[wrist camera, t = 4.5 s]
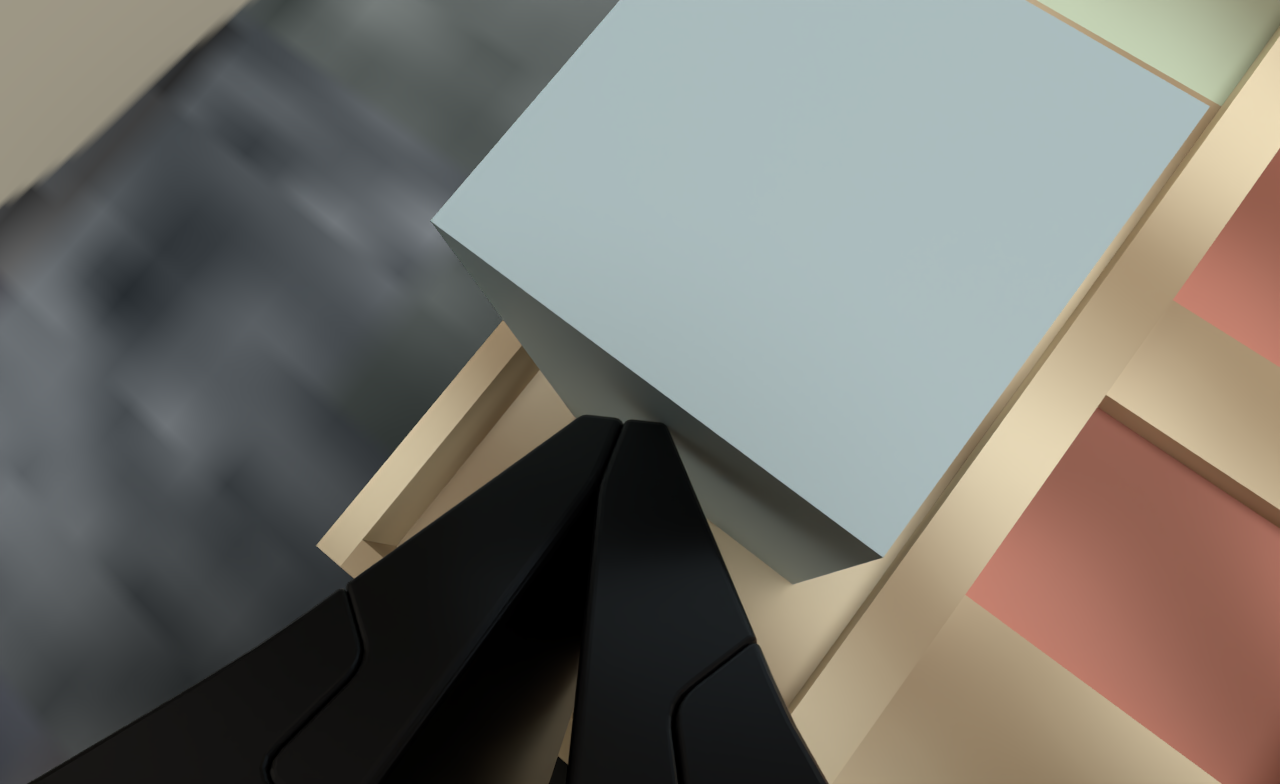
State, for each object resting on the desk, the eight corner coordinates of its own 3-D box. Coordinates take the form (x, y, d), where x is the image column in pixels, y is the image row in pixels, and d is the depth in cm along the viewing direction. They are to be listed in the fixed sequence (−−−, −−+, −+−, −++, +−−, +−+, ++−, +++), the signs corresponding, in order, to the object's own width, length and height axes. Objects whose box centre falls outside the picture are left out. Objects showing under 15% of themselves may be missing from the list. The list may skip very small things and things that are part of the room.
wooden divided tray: (1076, 1154, 13) (1156, 1277, 11) (376, 554, 16) (316, 545, 14) (1736, 93, 16) (1917, 2, 14) (1040, -259, 19) (1088, -387, 16)
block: (793, 584, 14) (882, 558, 7) (573, 416, 15) (429, 220, 8) (954, 364, 15) (1209, 106, 7) (735, 214, 16) (753, -156, 8)
